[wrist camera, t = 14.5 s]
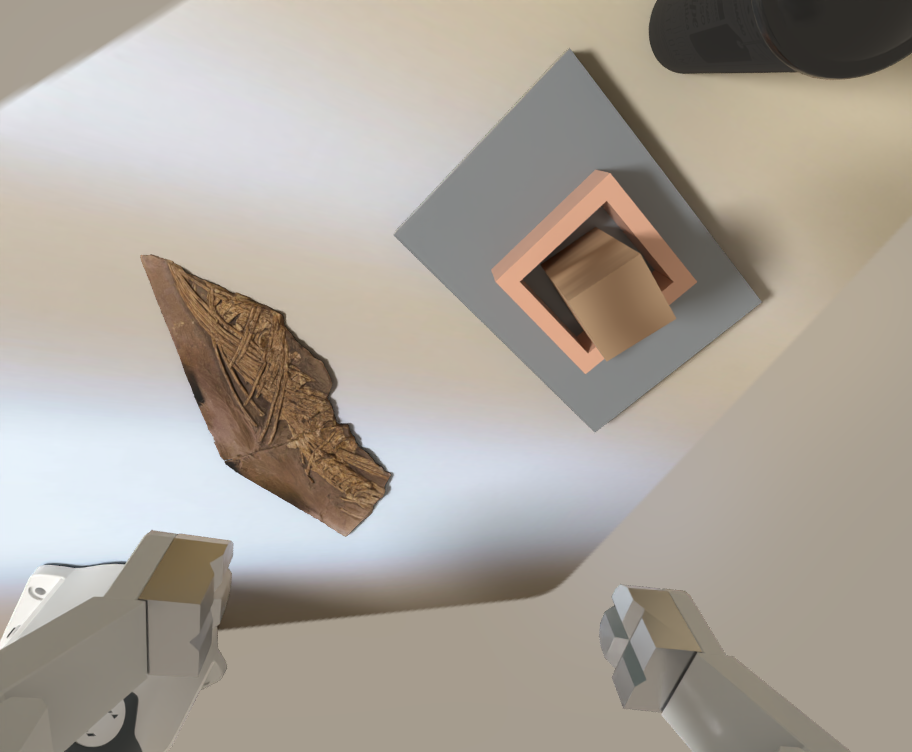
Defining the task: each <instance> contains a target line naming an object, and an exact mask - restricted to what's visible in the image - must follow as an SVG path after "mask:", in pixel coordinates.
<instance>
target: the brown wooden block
mask: <svg viewBox="0 0 912 752" xmlns="http://www.w3.org/2000/svg"><path fill="white" fill-rule="evenodd" d="M541 266H542V268H543V270H544V271H545V273H546V274H547V276H548V277H549V279H550V280H551V282H552V284H553V285H554V287H555V288H556V290H557V291H558V293H559V294H560V296H561V297H562V299H563V301H564V302H565V304H566V305H567V307H568V308H569V310H570V311H571V313H572V314H573V316H574V317H575V319H576V320H577V321H578V323H579V324H580V325H581V327H582V328H583V330H584V331H585V332H586V334H587V335H588V337H589V338H590V339H591V341H592V342H593V343H594V345H595V346H596V348H597V349H598V350H599V352H600V353H601V355H602V356H603V357H604V359H605V360H606V361H609V360H610V359H612V358H613V357H615V356H617V355H618V354H620V353H622V352H623V351H625V350H626V349H628V348H630V347H631V346H633V345H635V344H636V343H638V342H640V341H641V340H643V339H644V338H646V337H648V336H649V335H651V334H653V333H654V332H656V331H657V330H659V329H661V328H662V327H664V326H666V325H667V324H669V323H670V322H672V321H674V320H675V319H676V317H675V315H674V313H673V311H672V310H671V308H670V306H669V304H668V302H667V301H666V299H665V297H664V295H663V293H662V292H661V290H660V288H659V286H658V284H657V283H656V281H655V279H654V277H653V275H652V274H651V272H650V270H649V268H648V266H647V265H646V263H645V261H644V259H643V257H642V256H641V254H640V253H638V252H637V251H635V250H633V249H632V248H630V247H628V246H627V245H625V244H623V243H622V242H620V241H618V240H617V239H615V238H613V237H612V236H610V235H608V234H607V233H605V232H603V231H602V230H600V229H598V228H597V227H595V228H594V229H592V230H591V231H589V232H588V233H586V234H585V235H583V236H582V237H580V238H579V239H577V240H576V241H575V242H573V243H572V244H570V245H569V246H567V247H566V248H564V249H563V250H561V251H560V252H558V253H557V254H556V255H554V256H553V257H551V258H550V259H548V260H547V261H545V262H544V263H542V264H541Z"/></svg>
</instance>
